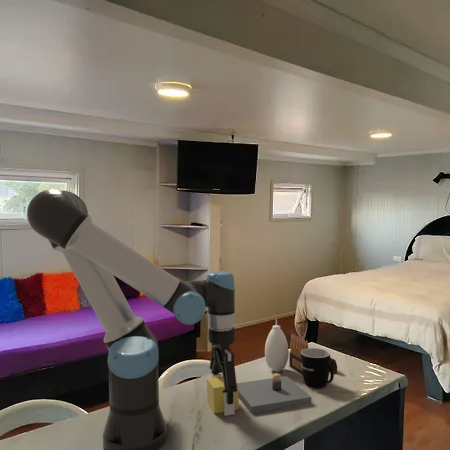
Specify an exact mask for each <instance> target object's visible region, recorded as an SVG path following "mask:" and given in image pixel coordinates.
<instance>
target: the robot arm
mask: <svg viewBox="0 0 450 450" xmlns="http://www.w3.org/2000/svg"><path fill="white" fill-rule="evenodd" d="M26 211H27V212H26V217H27V221H28V224H29V226H30V227H31V228H32V230H33V231H35V232H36V233H37V234H38V235H40V236H41V237H43V238H45V239H47V240H48V242H49V243H50V245H51V247H52V249H53V250H54V251H57V252H61V253H62V254H63V256H64V258H65V260H66V262H67V263H68V265H69V267H70V269H71V271H72V274H73V275H74V277H75V278H76V280H77V283H79V285H80V288H81V290H82V291H83V294H84V295H85V297H86V299H87V300H88V302H89V304H90V306H91V308H92V309H93V311H94V313H95V315H96V317H97V319H98V321H99V323H100V325H101V326H102V329H103V330H104V333H105V334H104V337H103V343H104V344H105V346H106V348H107V350H108V355H107V365H108V390H109V392H108V395H109V396H108V397H109V398H108V399H109V400H108V401H109V412H108V415H107V418H106V422H105V425H104V429H103V433H102V446H103V449H104V450H158V449H159V448H161V447H163V445H164V444H165V443H166V441H167V439H168V427H167V424H166V420H165V418H164V415H163V412H162V410H161V407H160V394H159V393H160V391H159V390H160V389H159V388H160V387H159V385H160V384H159V382H160V381H159V359H160V356H159V351H160V349H159V342H158V340H157V337H156V336H155V334H154V333H153V332H152V331H151V330H150V329H149V328H148V326H147V324H146V322H145V321H144V319H143V317H142V316H141V317H140V316H136V315H135V313H134V312H133V310H132V308H131V305H129V302H128V300H127V298H126V297H125V294H124V293H123V291H122V289H121V288H120V285H119V283H118V282H117V280H116V278H118V279H119V280H121V281H122V282H124V283H125V284H126V285H128V286H130V287H132V289H135V290H136V291H138V292H139V293H140V294H142V295H144V296H146V297H148V298H149V299H150V300H152V301H153V302H155V303H157V304H158V305H160V306H161V307H163V308H164V309H165V310H167V311H168V312H170V313H172V314H173V315H174V317H175V318H176V319H177V320H178V321H179V322H180V323H182V324H184V325H195V324H197V323H198V322H200V321H201V320H202V319H203V318H204V316H205V312H206V308H207V326H208V329H207V331H208V332H207V333H208V342H209V343H210V344H211V350H210V358H209V359H210V360H209V361H210V362H209V369H210V372H211V374H212V375H211V378H214V377H222V376H223V381H224V387H225V390H223V393H224V412H223V415H224V416H225V417H227V416H232V415H233V416H234V415H235V414H236V413H235V411H236V410H234V392H237V383H238V382H237V375H236V368H235V353H234V352H232V351H231V350H232V349H231V348H230V345H231V344H233V343H234V342H235V341H236V328H235V326H236V320H235V319H236V318H237V314H235V313H236V311H235V310H236V305H235V304H236V303H235V302H236V301H235V300H236V298H235V297H236V296H235V295H236V294H235V293H236V292H235V291H236V287H235V276H234V274H233V273H232V272H229V271H222V270H221V271H210V272H208V274H207V277H206V279H202V280H180V279H178V278H177V277H175V276H174V275H172V274H170V273H169V272H167V271H166V270H165V269H163V268H161V267H160V266H158V265H157V264H155V262H154V261H153V262H152V261H151V260H149V259H148V258H146V256H143V255H142V254H140V253H139V252H137V251H136V250H134V249H133V248H132V247H130V246H128V245H127V244H125V243H124V242H122V241H121V240H119V239H118V238H116V237H114V236H113V235H111V234H110V233H109V232H107V231H105V229H102V227H100V226H98V225H97V224H95V223H94V222H93V220H92V216H91V215H89V211H88V208H87V204H86V203H85V201H84V200H83V199H82V198H81V197H80V196H78V195H77V194H75V193H73V192H71V191H67V190H60V189H53V188H51V189H47V190H46V189H45V190H43V191H40V192H38V193H37V194H35V195H34V196H33V197H32V199H31V200H30V202H29V204H28V205H27V209H26Z"/></svg>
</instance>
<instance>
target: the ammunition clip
mask: <svg viewBox="0 0 450 450" xmlns="http://www.w3.org/2000/svg"><path fill="white" fill-rule="evenodd" d="M289 345H290V348H289V349H290V352H289V356H288V362H289V368H290V369H292V370H294V371H295V372H297V373H298V374H300V375H301V376H303V375H302V367H301V351H302V350H304V349H308V348H309V342H308V340H307V339H306V340H305V338H303V339H302V336H299V335H297V334H296V333H295V334H294V333H293V332H292V333H291V337H290V344H289Z"/></svg>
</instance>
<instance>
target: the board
mask: <svg viewBox="0 0 450 450" xmlns="http://www.w3.org/2000/svg"><path fill="white" fill-rule="evenodd" d="M236 383H237V384H238V400H240V401H241V403H242V404H243V405H244V406H245V408H246V409H247V411H249V413H250V415H253V414H255V415H256V414H260V413H265V412H272V410H273V411H279V410H284V408H285V409H291V408H297V407H300V406H301V407H302V406H307V405H312V396H311V395H310V394H308V393H307V391H305V390H304V389H303V388H301V387H300V386H299V385H298V384H297V383H296V382H295V381H293V380H292V379H291V378H289V376H287V375H286V376H281V374H280V373H273V374H272V378H263V379H257V380H250V381H244V382H236ZM290 407H291V408H290ZM278 409H279V410H278Z"/></svg>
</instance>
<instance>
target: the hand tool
mask: <svg viewBox="0 0 450 450" xmlns="http://www.w3.org/2000/svg"><path fill="white" fill-rule="evenodd" d="M330 365H331V367H332V369H333V372H334V375H335V374H338V364H337V361H336V359H334V358H332V357H331V356H330ZM329 373H330V370H329Z"/></svg>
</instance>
